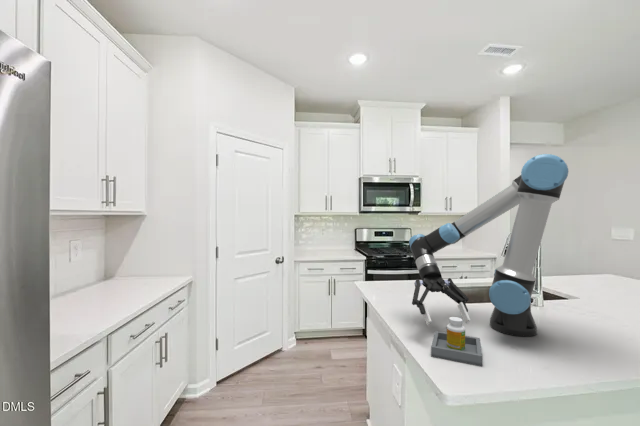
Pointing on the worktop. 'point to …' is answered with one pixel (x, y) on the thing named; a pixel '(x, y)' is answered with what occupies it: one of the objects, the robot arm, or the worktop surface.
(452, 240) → the robot arm
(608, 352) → the worktop surface
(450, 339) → the supplement bottle
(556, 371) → the worktop surface
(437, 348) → the tray
